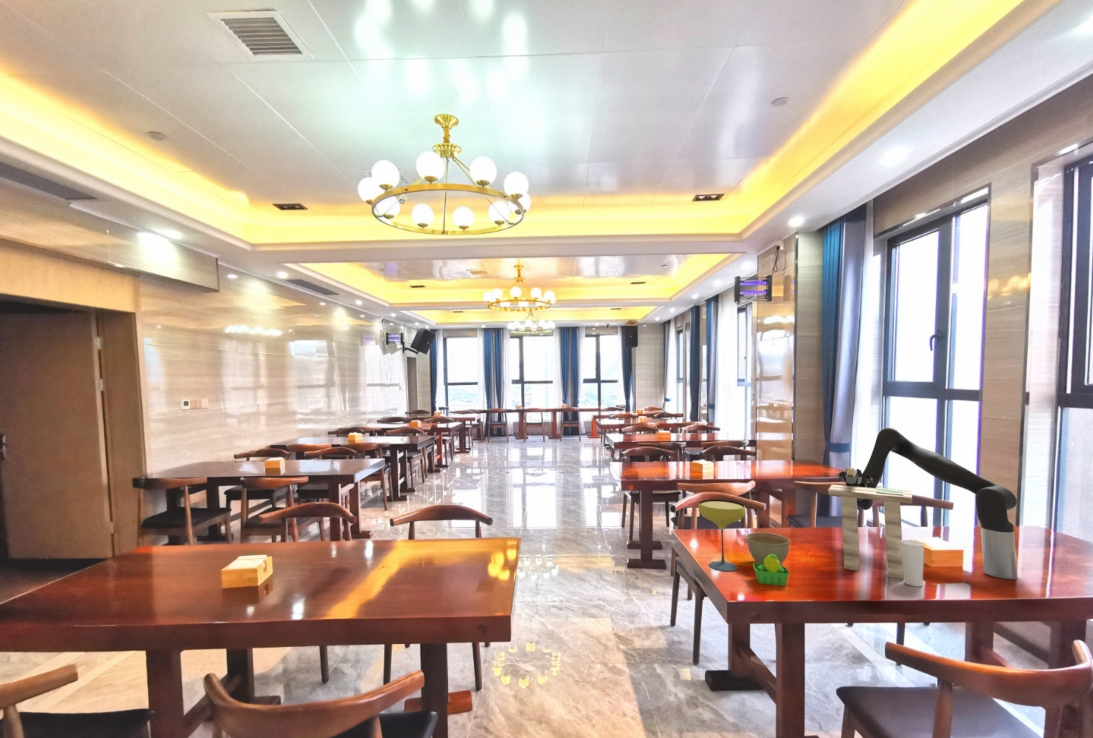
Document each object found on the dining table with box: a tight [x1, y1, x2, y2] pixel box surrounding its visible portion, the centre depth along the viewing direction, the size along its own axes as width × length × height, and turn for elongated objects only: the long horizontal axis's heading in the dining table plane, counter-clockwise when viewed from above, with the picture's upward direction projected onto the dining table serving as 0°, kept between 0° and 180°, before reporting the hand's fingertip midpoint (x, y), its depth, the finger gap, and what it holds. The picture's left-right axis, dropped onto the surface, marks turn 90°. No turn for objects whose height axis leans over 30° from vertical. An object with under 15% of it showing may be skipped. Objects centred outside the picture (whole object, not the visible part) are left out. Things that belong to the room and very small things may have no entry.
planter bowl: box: [745, 532, 790, 566], centre depth 190 cm, size 16×16×11 cm
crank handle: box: [845, 467, 858, 484], centre depth 188 cm, size 22×3×6 cm, turn 143°
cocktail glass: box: [697, 499, 746, 572], centre depth 189 cm, size 18×18×25 cm
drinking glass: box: [900, 539, 925, 588], centre depth 169 cm, size 7×7×15 cm
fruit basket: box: [752, 554, 790, 587], centre depth 172 cm, size 11×9×11 cm
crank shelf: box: [827, 484, 913, 580], centre depth 179 cm, size 14×26×32 cm, turn 53°
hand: (853, 470), depth 193 cm, fingers closed on crank handle, 2 cm apart
